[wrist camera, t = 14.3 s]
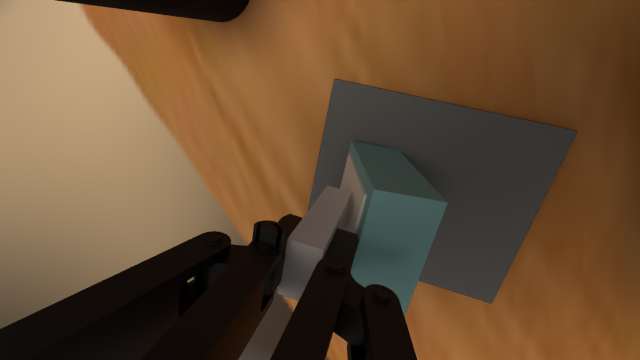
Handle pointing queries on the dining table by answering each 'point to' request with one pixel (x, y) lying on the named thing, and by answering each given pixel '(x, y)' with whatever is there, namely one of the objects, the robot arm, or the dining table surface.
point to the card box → (389, 218)
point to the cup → (178, 7)
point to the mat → (453, 174)
